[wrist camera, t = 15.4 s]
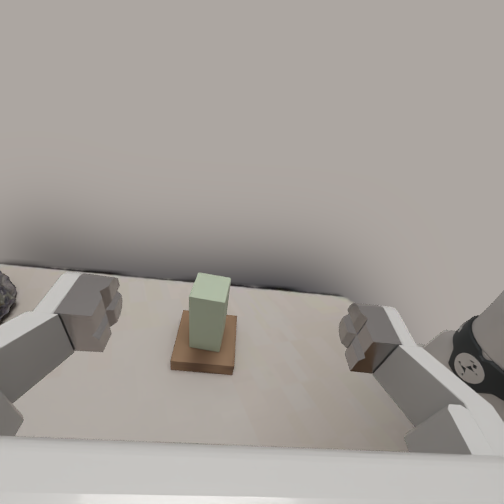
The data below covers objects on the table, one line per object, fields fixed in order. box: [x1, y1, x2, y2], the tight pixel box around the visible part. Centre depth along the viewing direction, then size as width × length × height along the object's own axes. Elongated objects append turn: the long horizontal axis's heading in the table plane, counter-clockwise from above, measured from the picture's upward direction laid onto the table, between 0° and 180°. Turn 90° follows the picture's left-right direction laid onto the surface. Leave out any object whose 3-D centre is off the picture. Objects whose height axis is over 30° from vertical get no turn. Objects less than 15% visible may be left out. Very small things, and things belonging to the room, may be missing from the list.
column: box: [189, 273, 231, 352], centre depth 38 cm, size 4×4×11 cm
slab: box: [171, 310, 237, 375], centre depth 42 cm, size 9×9×3 cm
